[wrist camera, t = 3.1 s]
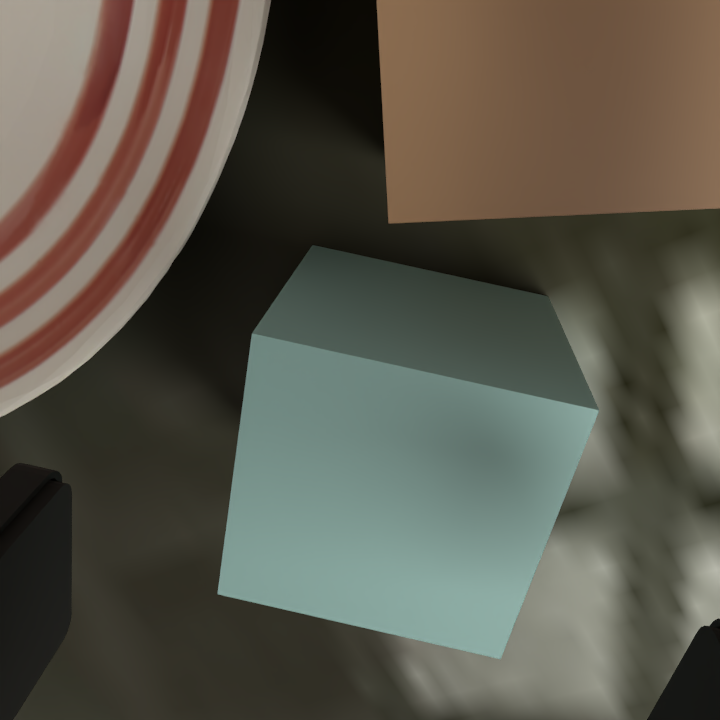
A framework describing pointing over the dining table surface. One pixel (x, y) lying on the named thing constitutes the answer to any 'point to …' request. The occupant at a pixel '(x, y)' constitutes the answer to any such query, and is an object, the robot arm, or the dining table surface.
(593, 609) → the dining table surface
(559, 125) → the walnut cube
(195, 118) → the dinner plate
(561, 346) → the teal cube
